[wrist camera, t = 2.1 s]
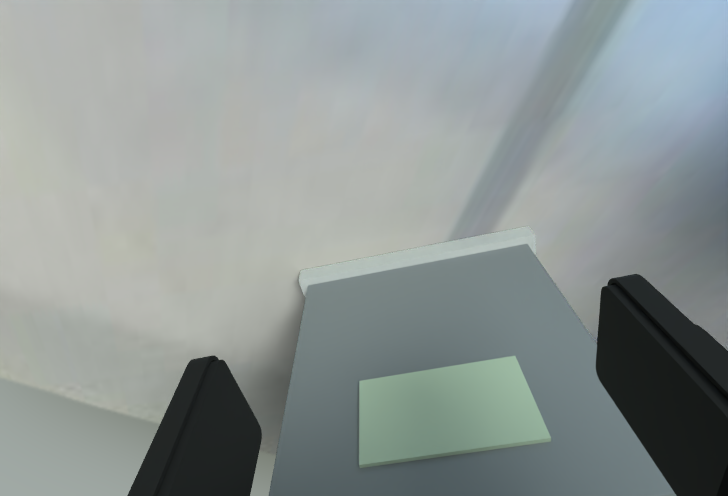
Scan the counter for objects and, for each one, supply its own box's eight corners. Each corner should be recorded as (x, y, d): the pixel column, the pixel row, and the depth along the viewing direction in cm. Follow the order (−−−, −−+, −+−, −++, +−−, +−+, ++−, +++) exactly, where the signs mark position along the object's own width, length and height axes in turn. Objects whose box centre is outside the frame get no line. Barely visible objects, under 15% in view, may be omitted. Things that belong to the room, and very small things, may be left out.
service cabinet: (528, 225, 26) (718, 479, 12) (530, 299, 29) (685, 571, 15) (300, 270, 28) (240, 539, 14) (324, 336, 31) (294, 611, 17)
